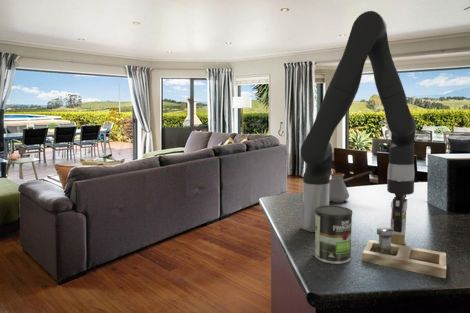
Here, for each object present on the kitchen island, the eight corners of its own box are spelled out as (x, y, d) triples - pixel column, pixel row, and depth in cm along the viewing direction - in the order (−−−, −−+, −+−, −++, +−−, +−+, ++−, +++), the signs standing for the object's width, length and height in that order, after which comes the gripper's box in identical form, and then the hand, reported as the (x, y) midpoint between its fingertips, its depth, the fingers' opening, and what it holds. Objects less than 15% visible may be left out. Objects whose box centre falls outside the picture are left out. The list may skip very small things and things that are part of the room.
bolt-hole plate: (362, 260, 93) (362, 252, 93) (369, 247, 102) (369, 239, 102) (445, 278, 83) (446, 269, 82) (445, 261, 92) (445, 253, 92)
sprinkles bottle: (386, 240, 108) (388, 200, 106) (399, 239, 108) (401, 199, 107) (394, 245, 103) (396, 204, 102) (408, 244, 104) (410, 203, 102)
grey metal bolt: (374, 258, 95) (375, 231, 94) (377, 253, 98) (378, 226, 97) (391, 262, 92) (392, 233, 91) (393, 256, 96) (394, 229, 95)
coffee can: (358, 259, 94) (360, 212, 92) (330, 267, 90) (331, 217, 88) (334, 247, 103) (335, 203, 102) (307, 253, 99) (307, 207, 97)
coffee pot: (323, 202, 155) (323, 171, 153) (325, 196, 165) (325, 167, 164) (372, 206, 148) (373, 173, 146) (370, 199, 159) (371, 169, 157)
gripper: (390, 173, 111) (389, 219, 113) (384, 180, 99) (383, 232, 101) (415, 174, 107) (414, 222, 109) (412, 182, 95) (410, 236, 97)
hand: (399, 227), depth 105 cm, fingers open, 8 cm apart
